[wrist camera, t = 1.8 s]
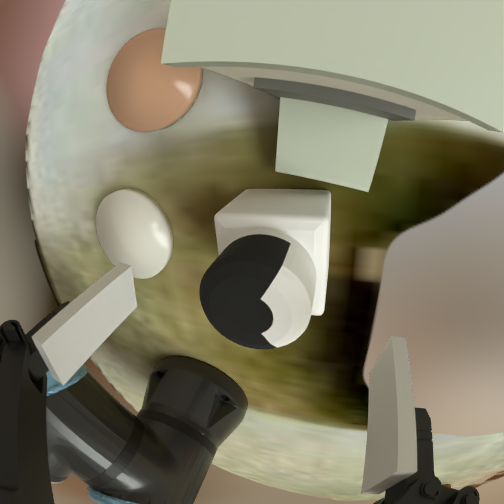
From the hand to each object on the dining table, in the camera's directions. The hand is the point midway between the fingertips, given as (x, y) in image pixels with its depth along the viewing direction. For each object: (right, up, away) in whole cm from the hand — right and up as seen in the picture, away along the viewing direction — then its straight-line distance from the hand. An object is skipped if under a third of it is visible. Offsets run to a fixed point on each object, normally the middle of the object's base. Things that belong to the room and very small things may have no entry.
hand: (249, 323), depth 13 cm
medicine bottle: (+3, +5, +11) cm, 13 cm away
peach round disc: (-9, +19, +8) cm, 22 cm away
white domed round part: (-13, +5, +16) cm, 21 cm away
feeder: (+7, +15, +5) cm, 18 cm away
